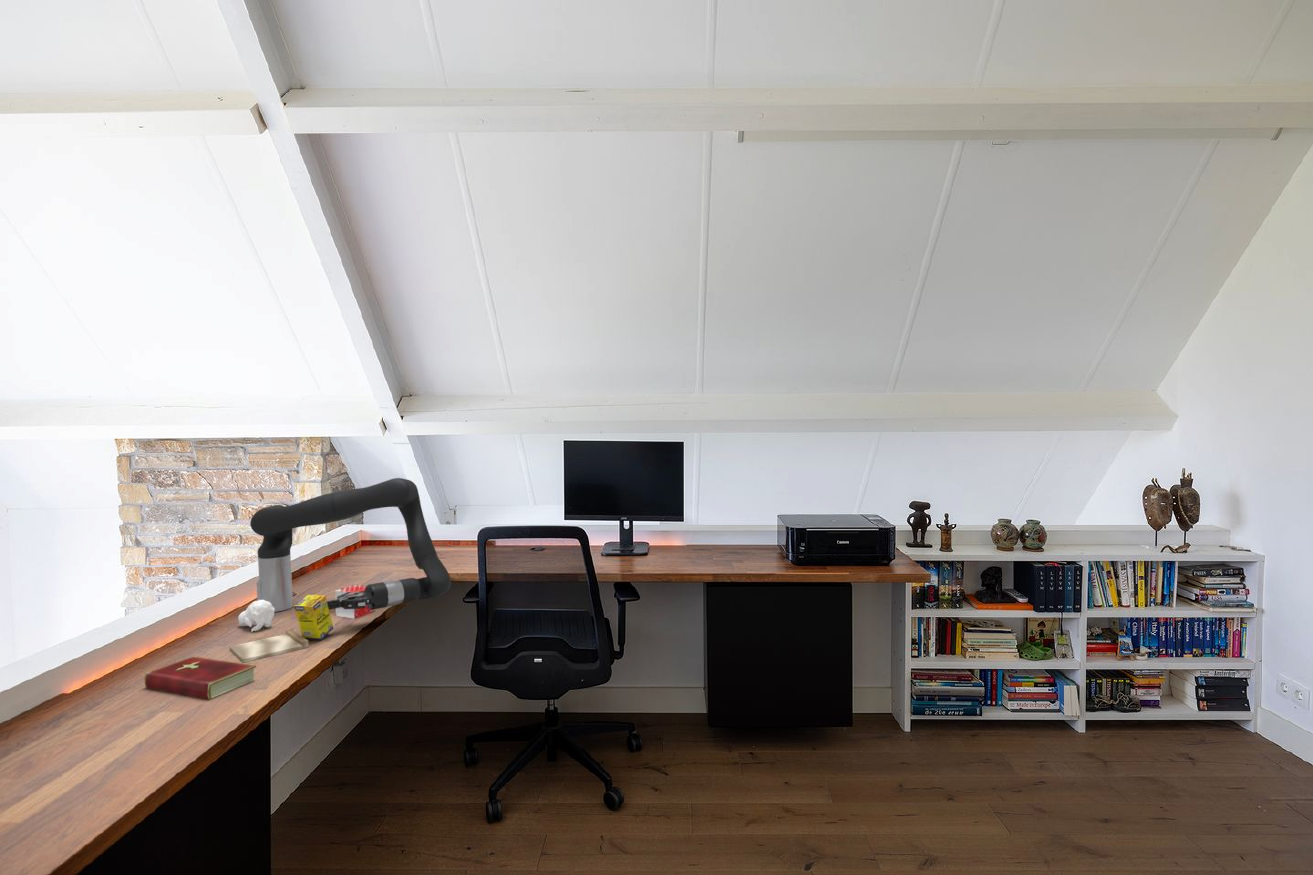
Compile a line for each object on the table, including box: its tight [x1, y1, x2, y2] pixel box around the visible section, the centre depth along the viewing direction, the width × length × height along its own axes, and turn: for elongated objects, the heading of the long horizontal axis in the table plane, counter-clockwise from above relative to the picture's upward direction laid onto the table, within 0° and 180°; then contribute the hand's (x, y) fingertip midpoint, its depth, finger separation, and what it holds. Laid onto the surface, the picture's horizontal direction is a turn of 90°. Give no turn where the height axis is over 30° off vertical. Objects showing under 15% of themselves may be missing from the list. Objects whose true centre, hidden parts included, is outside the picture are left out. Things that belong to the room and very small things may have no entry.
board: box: [229, 628, 309, 664], centre depth 191 cm, size 16×14×2 cm
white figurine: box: [238, 600, 275, 633], centre depth 209 cm, size 6×8×12 cm
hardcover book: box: [144, 655, 257, 700], centre depth 167 cm, size 12×21×4 cm, turn 69°
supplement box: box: [293, 594, 334, 641], centre depth 198 cm, size 6×6×11 cm
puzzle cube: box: [334, 584, 376, 619], centre depth 222 cm, size 8×8×8 cm
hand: (324, 606), depth 200 cm, fingers closed
